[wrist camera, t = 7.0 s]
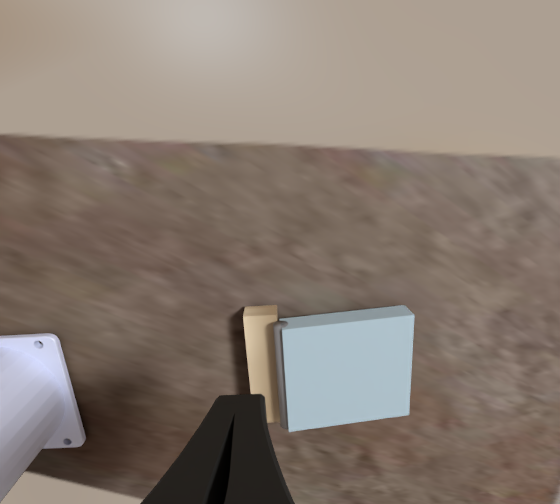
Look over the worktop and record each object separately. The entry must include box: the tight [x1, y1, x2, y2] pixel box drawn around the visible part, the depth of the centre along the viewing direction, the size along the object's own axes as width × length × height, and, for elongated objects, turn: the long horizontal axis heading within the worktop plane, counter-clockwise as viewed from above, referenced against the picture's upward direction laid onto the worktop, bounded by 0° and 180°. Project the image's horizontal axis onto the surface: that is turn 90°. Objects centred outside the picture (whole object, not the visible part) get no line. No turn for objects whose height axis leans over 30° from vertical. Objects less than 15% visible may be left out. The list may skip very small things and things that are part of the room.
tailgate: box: [273, 305, 414, 432], centre depth 20 cm, size 1×6×7 cm
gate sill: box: [243, 305, 280, 423], centre depth 21 cm, size 2×7×1 cm, turn 3°
